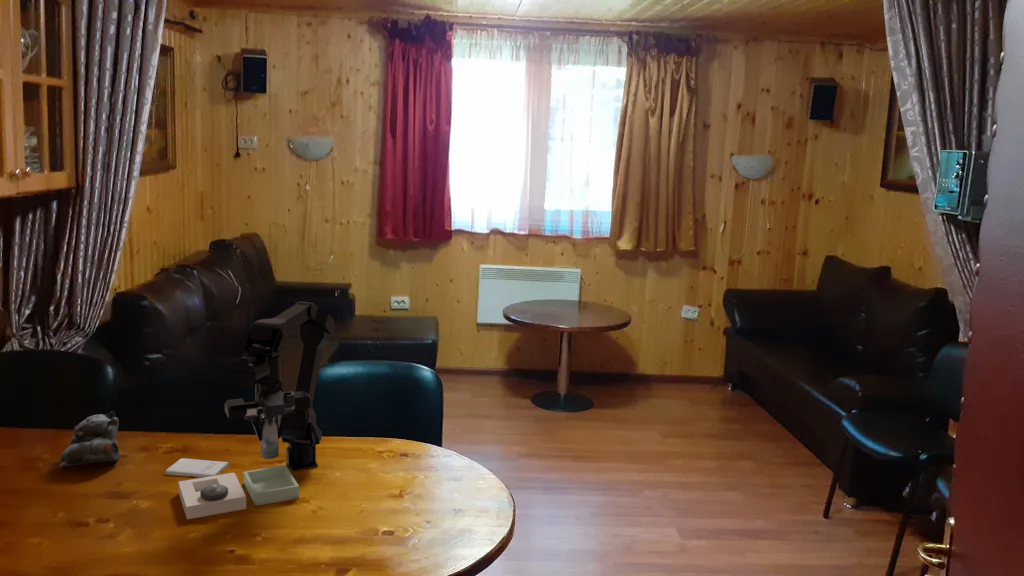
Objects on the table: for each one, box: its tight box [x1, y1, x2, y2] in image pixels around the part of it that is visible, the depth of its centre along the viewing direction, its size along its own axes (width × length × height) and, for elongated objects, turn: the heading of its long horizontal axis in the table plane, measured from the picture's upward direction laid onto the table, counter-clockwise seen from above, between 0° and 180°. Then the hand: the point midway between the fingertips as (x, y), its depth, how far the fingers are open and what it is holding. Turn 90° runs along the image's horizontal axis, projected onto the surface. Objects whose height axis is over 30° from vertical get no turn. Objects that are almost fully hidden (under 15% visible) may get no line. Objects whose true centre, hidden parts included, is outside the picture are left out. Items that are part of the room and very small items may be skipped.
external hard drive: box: [165, 458, 230, 478], centre depth 201 cm, size 2×8×12 cm
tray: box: [242, 464, 300, 507], centre depth 191 cm, size 10×13×3 cm
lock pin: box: [259, 412, 280, 460], centre depth 189 cm, size 4×4×10 cm
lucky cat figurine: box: [57, 411, 121, 469], centre depth 202 cm, size 15×12×14 cm
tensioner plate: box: [177, 472, 247, 520], centre depth 184 cm, size 12×14×5 cm
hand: (269, 439), depth 189 cm, fingers closed on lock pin, 4 cm apart
